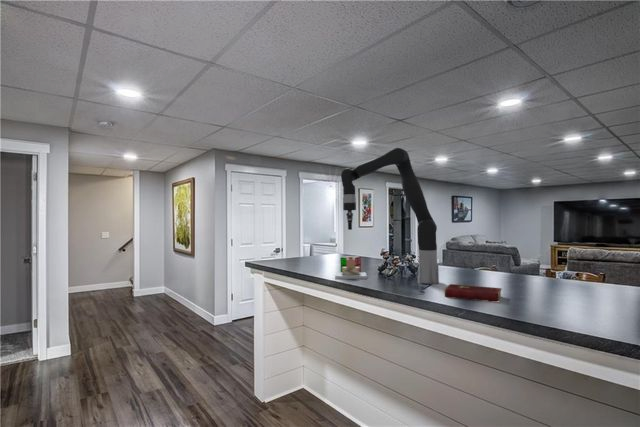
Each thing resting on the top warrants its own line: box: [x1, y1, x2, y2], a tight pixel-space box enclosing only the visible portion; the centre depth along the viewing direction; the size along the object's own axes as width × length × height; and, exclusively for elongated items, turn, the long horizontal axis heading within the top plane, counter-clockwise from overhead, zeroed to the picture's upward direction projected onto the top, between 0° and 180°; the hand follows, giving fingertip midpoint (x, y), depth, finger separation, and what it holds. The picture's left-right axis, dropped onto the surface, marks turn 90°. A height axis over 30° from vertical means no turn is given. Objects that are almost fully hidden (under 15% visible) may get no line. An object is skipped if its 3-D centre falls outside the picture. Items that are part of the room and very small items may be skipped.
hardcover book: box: [444, 283, 503, 302], centre depth 145 cm, size 12×21×4 cm, turn 58°
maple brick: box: [342, 267, 359, 275], centre depth 201 cm, size 10×5×4 cm, turn 85°
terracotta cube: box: [346, 257, 355, 268], centre depth 201 cm, size 5×5×6 cm
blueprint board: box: [334, 271, 368, 280], centre depth 201 cm, size 18×14×2 cm
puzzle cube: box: [340, 255, 362, 272], centre depth 218 cm, size 10×10×10 cm
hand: (350, 229), depth 201 cm, fingers open, 8 cm apart
